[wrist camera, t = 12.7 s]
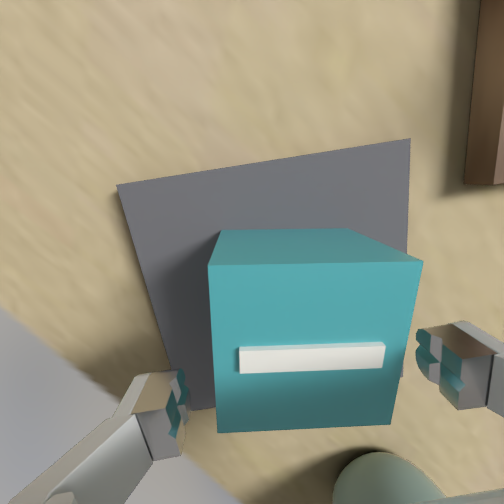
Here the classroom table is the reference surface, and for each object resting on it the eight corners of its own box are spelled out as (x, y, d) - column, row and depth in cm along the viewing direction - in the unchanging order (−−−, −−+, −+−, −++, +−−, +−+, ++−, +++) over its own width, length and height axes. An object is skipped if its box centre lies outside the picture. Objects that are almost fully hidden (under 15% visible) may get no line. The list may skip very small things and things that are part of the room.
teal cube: (347, 228, 12) (428, 263, 7) (335, 336, 13) (393, 430, 8) (221, 229, 11) (206, 268, 6) (225, 340, 13) (217, 439, 8)
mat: (392, 364, 15) (402, 377, 14) (187, 397, 15) (184, 412, 14) (396, 141, 12) (410, 138, 11) (126, 184, 12) (115, 184, 11)
